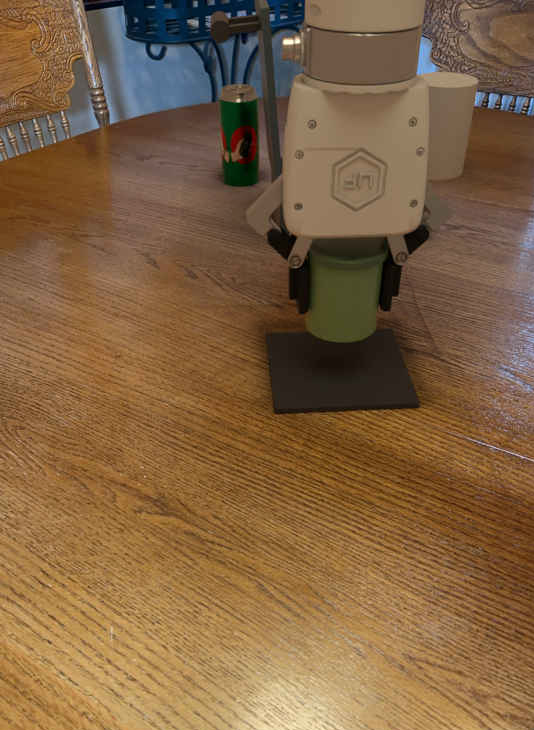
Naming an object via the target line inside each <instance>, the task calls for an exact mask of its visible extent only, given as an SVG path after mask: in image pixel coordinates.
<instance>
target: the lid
mask: <svg viewBox="0 0 534 730" xmlns="http://www.w3.org/2000/svg"><path fill="white" fill-rule="evenodd" d="M254 9H255V10H254V11H255V14H248V15H239V16H232V17H231V16H230V17H229V16H228V14H227V13H226V12H224V11H222V10H217V11H215V12H214V13H212V14H211V17H210V19H209V34H210V36H211V37H210V38H212V40H213V41H214V42H215V43H217V44H224V43H226V42H227V41H228V40H229V38H230V36H231V35H235V34H245V33H252V32H257V42H258V43H257V45H258V55H259V66H260V77H261V88H262V99H263V112H264V123H265V134H266V145H267V147H266V148H267V155H268V160H269V165H270V171H272V176H273V181H275V180H276V179H277V178H278V177H279V176H280V175H281V174H282V168H281V157H282V156H281V144H280V143H281V141H280V131H279V129H280V128H279V118H278V104H277V92H276V79H275V67H274V53H273V39H272V27H271V13H270V12H271V11H270V6H269V4H268V1H267V0H254Z"/></svg>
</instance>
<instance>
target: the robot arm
mask: <svg viewBox="0 0 534 730" xmlns="http://www.w3.org/2000/svg"><path fill="white" fill-rule="evenodd" d="M426 2H427V0H304V21H302V28H299V29H298V33H292V36H291V35H289V36H288V35H287V36H286V35H285V36H281V42H280V43H281V44H280V45H281V46H280V48H281V49H280V50H281V51H280V52H281V61H292V62H293V63H295V64H296V63H298V66H299V67H300V68H302V73H299V74H297V75H296V76H294V78H293V81H292V85H291V90H290V94H289V101H288V106H287V114H286V122H285V128H284V136H283V138H284V139H283V150H282V157H283V163H282V174H281V175H280V176H279V177H278V178H277V179H276V180H275V181H274V182H273V183H272V184H270V185H269V186H268V187H267V188H266V189H265V190H264V191H263V193H261V194H260V196H259V197H258V198H257V199H255V201H254V202H253V203H251V205H250V206H249V207H248V208H247V210H246V213H245V216H246V223H247V225H248V226H249V227H250V228H252V230H254V231H255V232H256V233H257V234H258V235H259V236H260V237H261V238H262V239H264V240H265V241H266V242H267V243H268V245H269V246H270V247H271V248H272V249H273V250H274V251H275V252H276V253H278V254H279V255H280V256H281V258H283V259H284V260H285V261H286V262H287V264H288V265H287V266H288V285H287V287H288V299H289V301H295V302H296V307H297V312H298V315H305V314H306V313H308V297H309V266H308V262H307V257H306V255H307V253H308V251H309V249H310V247H311V244H312V242H313V240H314V239H315V238H359V237H385V239H386V240H387V242H388V244H389V254H388V257H387V258H386V260H385V261H384V264H383V273H382V281H381V290H380V299H379V309H380V310H381V311H382V312H383V313H384V312H386V313H387V312H391V309H392V302H393V298H394V297H399V294H400V288H401V287H400V286H401V280H402V279H401V278H402V271H403V265H405V264H407V263H408V262H409V259H410V256H411V255H412V254H413V253H414V252H416V251H417V250H418V249H419V248H420V247H421V246H422V245H424V244H425V243H426V242H427V241H428V240H429V238H430V235H432V234H433V233H435V232H437V230H438V229H440V228H441V227H442V226H443V225H444V224H445V223H446V222H448V221H449V220H450V219H451V218H452V215H453V211H452V209H451V207H450V206H449V204H448V203H447V202H446V200H445V199H444V198H443V197H442V196H441V194H440V193H439V192H438V190H436V189H435V187H434V185H432V184H431V182H429V179H426V178H427V163H428V146H429V87H428V82H427V81H426V80H425V79H423V78H422V77H421V76H419V75H420V74H418V68H419V60H420V59H419V58H420V53H421V43H422V35H423V28H424V25H423V24H424V18H425V9H426ZM281 204H282V206H283V215H284V221H285V224H286V227H287V229H288V231H289V232H290V234H288V233H287V232H286V231H285V230H284V229H283V228H282V227H281V226H280V225H278V224H276V221H274V219H272V218H271V216H273V214H274V211H275V210H276V209H277V208H278V207H279V206H280V205H281ZM412 204H413V205H412ZM424 205H425V207H426V211H425V212H424V214H423V208H424Z"/></svg>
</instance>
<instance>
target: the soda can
mask: <svg viewBox="0 0 534 730" xmlns="http://www.w3.org/2000/svg"><path fill="white" fill-rule="evenodd" d="M220 91H221V92H220V94H219V97H218V112H219V113H218V114H219V135H220V156H221V157H220V159H221V173H222V174H221V177H222V183H223V184H225V185H226V186H229V187H236V188H246V187H251V186H255V185H257V184H258V183H260V178H261V177H260V176H261V175H260V107H259V106H260V103H259V102H260V101H259V100H260V99H259V98H260V97H259V95H258V94H257V92H256V87H255V86H254V85H251V84H243V83H232V84H227V85H225V86H222V87H221V88H220Z"/></svg>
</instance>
